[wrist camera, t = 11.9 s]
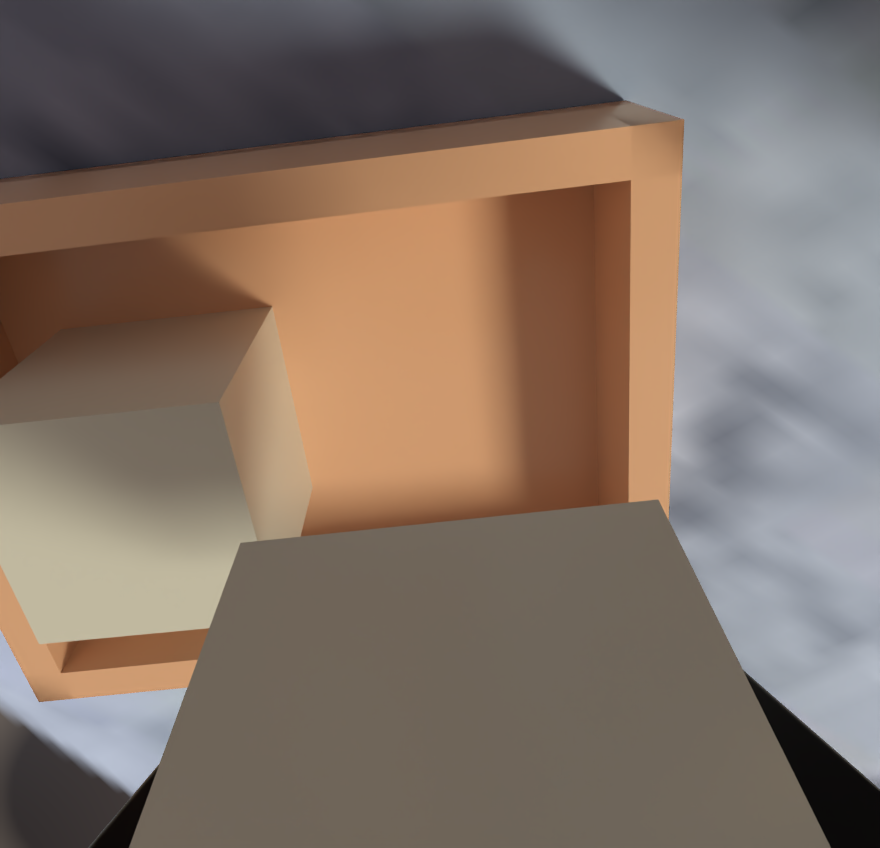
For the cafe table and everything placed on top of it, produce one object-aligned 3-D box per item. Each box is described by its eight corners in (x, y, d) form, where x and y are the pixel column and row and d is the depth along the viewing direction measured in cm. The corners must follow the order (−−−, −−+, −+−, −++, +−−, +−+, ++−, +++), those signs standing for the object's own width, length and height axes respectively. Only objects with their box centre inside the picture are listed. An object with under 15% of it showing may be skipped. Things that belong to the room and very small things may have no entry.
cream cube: (272, 306, 14) (219, 402, 10) (312, 487, 15) (279, 621, 12) (61, 329, 14) (-65, 431, 10) (126, 505, 16) (38, 644, 12)
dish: (625, 100, 13) (683, 119, 10) (623, 539, 17) (664, 640, 14) (-74, 187, 13) (-211, 230, 10) (101, 593, 17) (38, 701, 15)
